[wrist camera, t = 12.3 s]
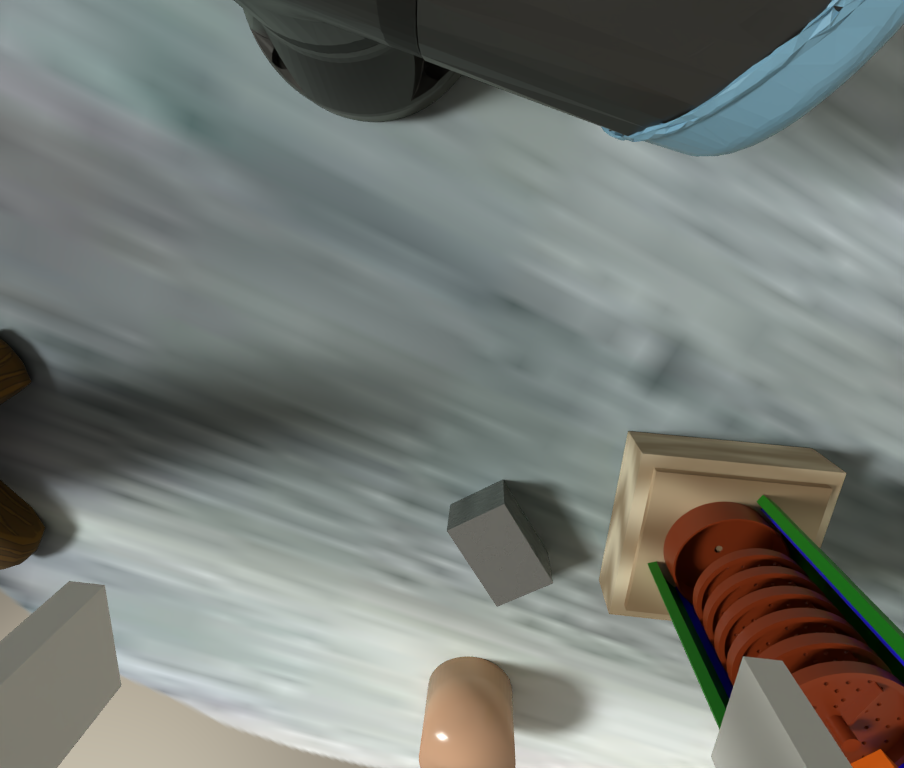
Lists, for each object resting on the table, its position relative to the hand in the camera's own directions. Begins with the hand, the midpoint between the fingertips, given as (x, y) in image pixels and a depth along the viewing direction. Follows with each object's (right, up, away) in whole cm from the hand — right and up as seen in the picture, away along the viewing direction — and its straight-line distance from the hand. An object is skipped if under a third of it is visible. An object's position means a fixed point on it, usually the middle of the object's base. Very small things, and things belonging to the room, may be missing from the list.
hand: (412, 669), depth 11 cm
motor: (+21, -6, +27) cm, 35 cm away
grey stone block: (+5, -6, +33) cm, 34 cm away
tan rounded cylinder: (+3, -23, +39) cm, 45 cm away
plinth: (+21, -5, +31) cm, 38 cm away
